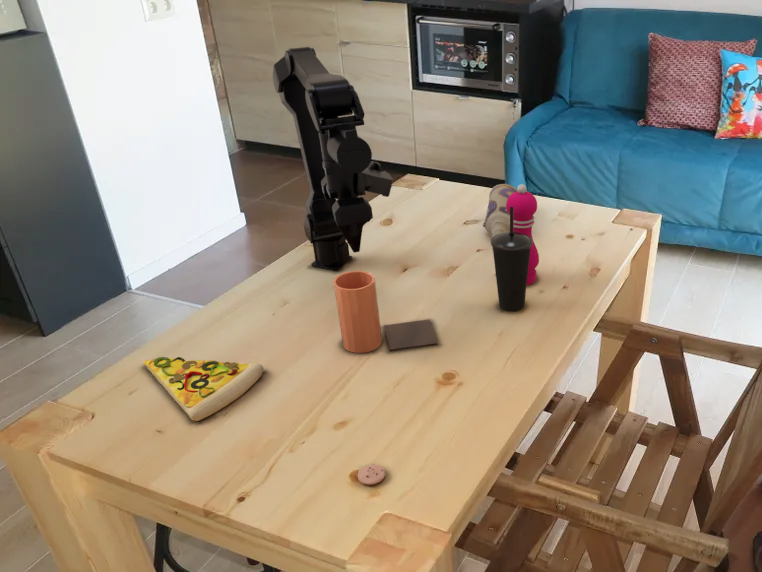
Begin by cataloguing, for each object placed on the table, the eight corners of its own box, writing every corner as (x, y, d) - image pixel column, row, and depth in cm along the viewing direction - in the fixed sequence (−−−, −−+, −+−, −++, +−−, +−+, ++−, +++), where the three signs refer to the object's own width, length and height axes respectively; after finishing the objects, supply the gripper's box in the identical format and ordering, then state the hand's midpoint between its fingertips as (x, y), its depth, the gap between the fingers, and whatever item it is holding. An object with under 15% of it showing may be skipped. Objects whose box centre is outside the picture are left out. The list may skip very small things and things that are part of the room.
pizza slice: (203, 426, 115) (198, 410, 113) (108, 390, 122) (102, 375, 120) (272, 374, 126) (268, 359, 124) (181, 344, 133) (177, 330, 131)
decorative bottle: (488, 208, 183) (488, 182, 179) (519, 209, 183) (520, 183, 179) (478, 255, 162) (478, 226, 158) (513, 256, 162) (514, 228, 158)
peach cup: (336, 348, 132) (325, 285, 125) (355, 329, 137) (346, 268, 130) (370, 356, 130) (362, 292, 123) (388, 336, 136) (381, 274, 128)
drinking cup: (484, 309, 143) (482, 211, 132) (503, 292, 149) (502, 196, 137) (520, 319, 140) (520, 219, 129) (538, 301, 146) (540, 203, 134)
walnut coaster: (390, 351, 132) (390, 349, 131) (384, 327, 138) (384, 325, 138) (437, 344, 133) (437, 342, 133) (429, 321, 140) (429, 319, 140)
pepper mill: (497, 283, 152) (496, 188, 140) (511, 268, 157) (511, 175, 146) (531, 290, 150) (533, 194, 138) (543, 274, 155) (546, 180, 143)
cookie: (388, 467, 107) (387, 461, 106) (382, 486, 104) (382, 481, 103) (361, 466, 107) (360, 460, 107) (355, 485, 104) (354, 480, 103)
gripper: (397, 167, 124) (406, 255, 132) (375, 138, 139) (385, 219, 147) (329, 175, 121) (343, 264, 129) (314, 145, 136) (328, 227, 144)
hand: (352, 242), depth 138 cm, fingers open, 9 cm apart
